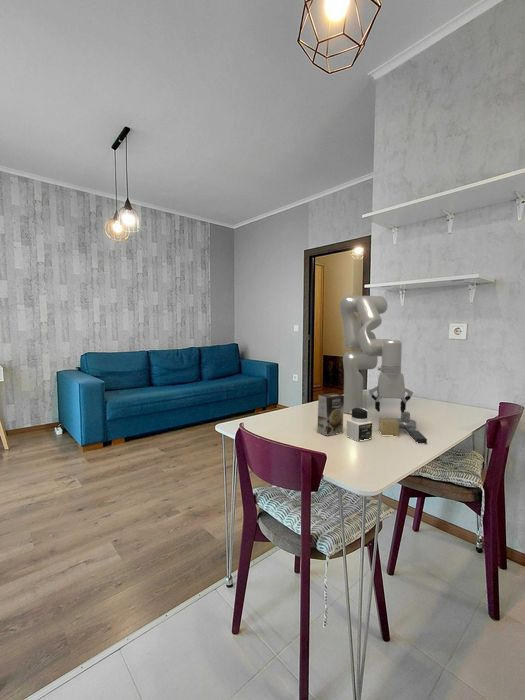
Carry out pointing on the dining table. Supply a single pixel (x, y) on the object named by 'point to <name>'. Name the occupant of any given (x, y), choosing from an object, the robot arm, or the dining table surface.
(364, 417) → the medicine bottle
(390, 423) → the brass-coloured cube
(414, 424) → the ratchet
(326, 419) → the coffee box
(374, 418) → the dining table surface
